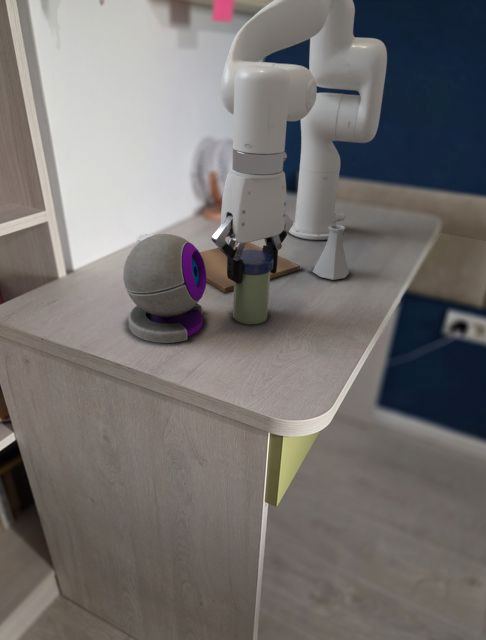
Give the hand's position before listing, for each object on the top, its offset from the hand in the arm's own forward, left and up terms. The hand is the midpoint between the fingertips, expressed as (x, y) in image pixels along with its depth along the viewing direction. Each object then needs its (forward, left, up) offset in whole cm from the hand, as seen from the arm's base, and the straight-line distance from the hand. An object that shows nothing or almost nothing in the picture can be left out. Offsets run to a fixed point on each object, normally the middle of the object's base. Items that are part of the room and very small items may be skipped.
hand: (252, 274), depth 82 cm
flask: (-26, -5, -8) cm, 28 cm away
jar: (0, 0, -8) cm, 8 cm away
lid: (0, 0, +3) cm, 3 cm away
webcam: (+13, -6, -8) cm, 16 cm away
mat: (-12, -19, -8) cm, 24 cm away
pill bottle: (+8, -20, -8) cm, 23 cm away
